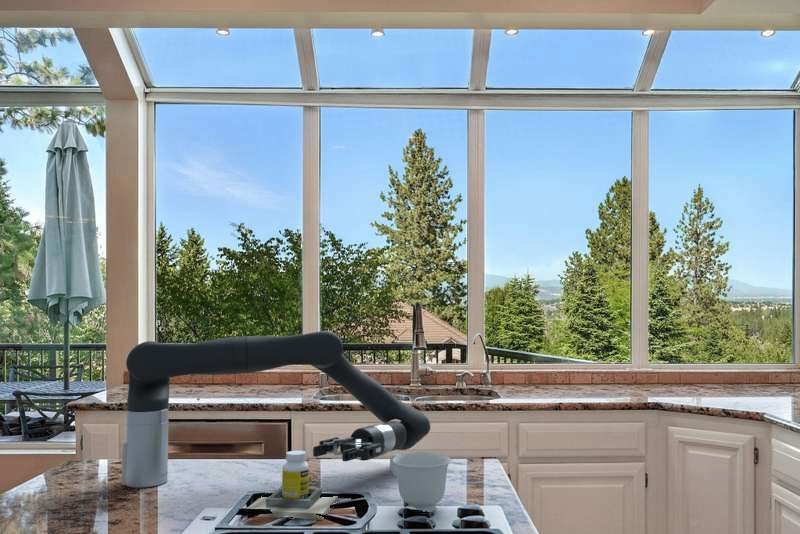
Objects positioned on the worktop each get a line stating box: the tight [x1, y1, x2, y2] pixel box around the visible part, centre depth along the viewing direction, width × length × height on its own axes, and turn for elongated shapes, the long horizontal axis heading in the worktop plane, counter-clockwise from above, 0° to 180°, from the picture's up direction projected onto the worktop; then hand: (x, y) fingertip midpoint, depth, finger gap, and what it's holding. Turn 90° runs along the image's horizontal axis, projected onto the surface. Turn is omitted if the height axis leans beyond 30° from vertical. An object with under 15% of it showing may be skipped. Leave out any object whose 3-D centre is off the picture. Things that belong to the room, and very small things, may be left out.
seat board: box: [246, 486, 341, 521], centre depth 130 cm, size 16×14×3 cm
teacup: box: [389, 451, 452, 513], centre depth 129 cm, size 12×15×10 cm
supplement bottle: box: [281, 450, 310, 499], centre depth 131 cm, size 5×5×10 cm
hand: (328, 454), depth 139 cm, fingers open, 8 cm apart
